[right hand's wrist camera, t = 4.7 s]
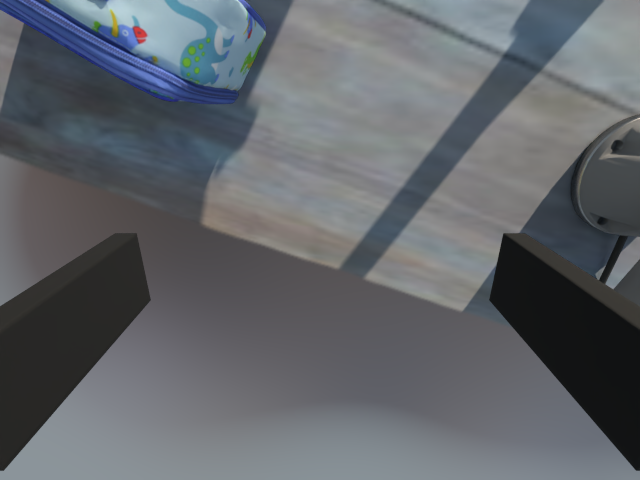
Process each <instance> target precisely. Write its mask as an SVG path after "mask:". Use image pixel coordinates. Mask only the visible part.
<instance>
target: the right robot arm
mask: <svg viewBox="0 0 640 480" xmlns="http://www.w3.org/2000/svg"><path fill="white" fill-rule="evenodd" d="M571 197H572V202H573V205H574V208H575V210H576V212H577V214H578V215H579V216H580V218H581V219H582V220H583V221H585V222H586V223H587V224H589V225H590V226H592V227H595V228H597V229H599V230H601V231H604V232H607V233H610V234H616V235H620V236H619V238H618V241H617V243H616V245H615V247H614V250H613V252H612V254H611V256H610V258H609V261H608V263H607V265H606V267H605V269H604V271H603V273H602V275H601V277H600V280H597V279H596V278H594V277H593V276H591V275H590V274H588V273H586V272H585V271H583V270H582V269H580V268H578V267H577V266H575V265H574V264H572V263H571V262H569V261H567V260H566V259H564V258H563V257H561V256H560V255H558V254H556V253H555V252H553V251H552V250H550V249H549V248H547V247H545V246H544V245H542V244H541V243H539V242H537V241H536V240H534V239H533V238H531V237H530V236H528V235H526V234H525V233H503V238H502V243H501V247H500V252H499V257H498V262H497V266H496V271H495V276H494V281H493V285H492V290H491V295H490V299H489V300H490V301H491V303H492V304H493V305H494V306H495V307H496V308H497V310H498V311H499V312H500V313H501V314H502V315H503V317H504V318H505V319H506V320H507V321H508V322H509V323H510V325H511V326H512V327H513V328H514V329H515V330H516V332H517V333H518V334H519V335H520V336H521V337H522V338H523V340H524V341H525V342H526V343H527V344H528V346H529V347H530V348H531V349H532V350H533V351H534V352H535V354H536V355H537V356H538V357H539V358H540V359H541V361H542V362H543V363H544V364H545V365H546V366H547V368H548V369H549V370H550V371H551V372H552V373H553V375H554V376H555V377H556V378H557V379H558V380H559V382H560V383H561V384H562V385H563V386H564V387H565V388H566V390H567V391H568V392H569V393H570V394H571V395H572V397H573V398H574V399H575V400H576V401H577V402H578V403H579V405H580V406H581V407H582V408H583V409H584V411H585V412H586V413H587V414H588V415H589V416H590V417H591V419H592V420H593V421H594V422H595V423H596V424H597V426H598V427H599V428H600V429H601V430H602V431H603V433H604V434H605V435H606V436H607V437H608V438H609V440H610V441H611V442H612V443H613V444H614V445H615V446H616V448H617V449H618V450H619V451H620V452H621V453H622V455H623V456H624V457H625V458H626V459H627V460H628V462H629V463H630V464H631V465H632V466H633V467H634V469H635V470H637V471H640V260H639V261H638V262H637V263H636V264H635V265H634V266H633V268H632V269H631V270H630V271H629V272H628V273H627V274H626V276H625V277H624V278H623V279H622V280H621V281H620V282H619V284H618V285H617V286H616V287H615V288H614V289H612V288H610V287H608V286H607V285H605V283H606V281H607V279H608V277H609V275H610V273H611V271H612V269H613V267H614V265H615V263H616V261H617V259H618V257H619V254H620V252H621V250H622V248H623V246H624V244H625V241H626V239H627V237H628V236H638V237H640V115H636V116H632V117H630V118H627V119H624V120H622V121H620V122H618V123H616V124H615V125H613V126H611V127H610V128H608V129H607V130H606V131H604V132H603V133H602V134H601V135H599V136H598V137H597V138H596V139H595V140H594V141H593V142H592V143H591V145H590V146H589V147H588V148H587V149H586V151H585V152H584V154H583V155H582V157H581V159H580V160H579V162H578V164H577V166H576V169H575V172H574V175H573V179H572V185H571ZM149 301H150V295H149V290H148V285H147V281H146V276H145V271H144V267H143V262H142V257H141V252H140V248H139V243H138V238H137V234H133V233H132V234H131V233H128V234H127V233H126V234H122V233H121V234H120V233H119V234H118V233H117V234H114V235H112V236H110V237H109V238H107V239H106V240H104V241H103V242H101V243H99V244H98V245H96V246H95V247H93V248H92V249H90V250H88V251H87V252H85V253H84V254H82V255H81V256H79V257H77V258H76V259H74V260H73V261H71V262H69V263H68V264H66V265H65V266H63V267H62V268H60V269H58V270H57V271H55V272H54V273H52V274H50V275H49V276H47V277H46V278H44V279H43V280H41V281H39V282H38V283H36V284H35V285H33V286H32V287H30V288H28V289H27V290H25V291H24V292H22V293H21V294H19V295H17V296H16V297H14V298H13V299H11V300H10V301H8V302H6V303H5V304H3V305H2V306H0V471H4V470H5V468H6V467H7V466H8V465H9V464H10V463H11V462H12V460H13V459H14V458H15V457H16V456H17V455H18V453H19V452H20V451H21V450H22V449H23V448H24V446H25V445H26V444H27V443H28V442H29V441H30V440H31V438H32V437H33V436H34V435H35V434H36V433H37V431H38V430H39V429H40V428H41V427H42V426H43V424H44V423H45V422H46V421H47V420H48V419H49V417H50V416H51V415H52V414H53V413H54V412H55V411H56V409H57V408H58V407H59V406H60V405H61V404H62V402H63V401H64V400H65V399H66V398H67V397H68V395H69V394H70V393H71V392H72V391H73V390H74V388H75V387H76V386H77V385H78V384H79V383H80V381H81V380H82V379H83V378H84V377H85V376H86V375H87V373H88V372H89V371H90V370H91V369H92V368H93V366H94V365H95V364H96V363H97V362H98V361H99V359H100V358H101V357H102V356H103V355H104V354H105V352H106V351H107V350H108V349H109V348H110V347H111V345H112V344H113V343H114V342H115V341H116V340H117V339H118V337H119V336H120V335H121V334H122V333H123V332H124V330H125V329H126V328H127V327H128V326H129V325H130V323H131V322H132V321H133V320H134V319H135V318H136V316H137V315H138V314H139V313H140V312H141V311H142V310H143V308H144V307H145V306H146V305H147V304H148V303H149Z"/></svg>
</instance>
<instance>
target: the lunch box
mask: <svg viewBox="0 0 640 480" xmlns="http://www.w3.org/2000/svg"><path fill="white" fill-rule="evenodd" d="M0 10H2V11H4V12H6V13H7V14H9V15H11V16H13V17H14V18H16V19H18V20H20V21H22V22H23V23H25V24H27V25H29V26H30V27H32V28H34V29H36V30H37V31H39V32H41V33H43V34H44V35H46V36H48V37H49V38H51V39H53V40H54V41H56V42H57V43H59V44H61V45H63V46H64V47H66V48H68V49H70V50H71V51H73V52H75V53H76V54H78V55H80V56H81V57H83V58H85V59H86V60H88V61H90V62H91V63H93V64H95V65H97V66H98V67H100V68H102V69H104V70H105V71H107V72H109V73H111V74H112V75H114V76H116V77H118V78H119V79H121V80H123V81H125V82H127V83H129V84H131V85H133V86H135V87H136V88H138V89H140V90H143V91H145V92H147V93H149V94H150V95H152V96H154V97H157V98H159V99H162V100H166V101H173V102H177V101H187V102H192V103H201V104H231V103H234V102H235V99H237V97H238V92H237V91H238V90H239V89H240V88H241V87H242V85H243V82H244V80H245V78H246V76H247V74H248V72H249V70H250V68H251V66H252V64H253V62H254V60H255V58H256V56H257V53H258V50H259V48H260V46H261V44H262V42H263V40H264V38H265V36H266V32H265V31H266V26H265V24H264V22H263V20H262V19H261V17H260V16H259V15H258V14H257V13H256V11H255V10H254V9H253V8H252V7H251V6H250V5H249V4H248V3H247V2H246V1H244V0H0Z"/></svg>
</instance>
